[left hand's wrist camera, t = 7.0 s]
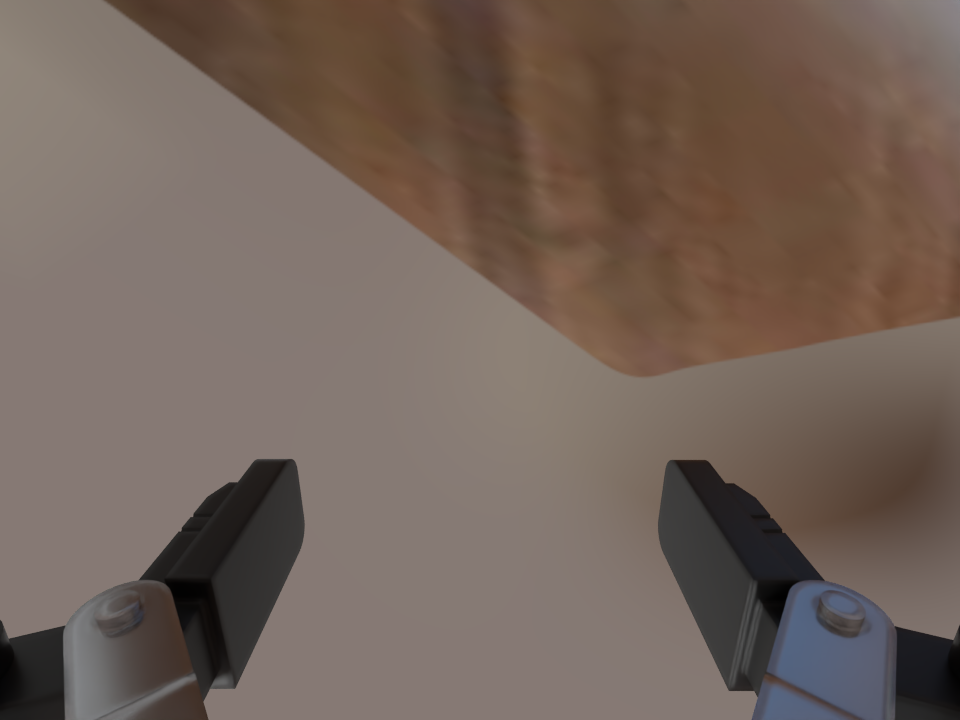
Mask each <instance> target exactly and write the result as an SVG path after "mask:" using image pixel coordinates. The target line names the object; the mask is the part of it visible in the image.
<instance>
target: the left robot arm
mask: <svg viewBox="0 0 960 720" xmlns="http://www.w3.org/2000/svg"><path fill="white" fill-rule="evenodd" d="M658 532H659V540H660V544H661V548H662V551H663V553H664V555H665V557H666V559H667V561H668V563H669V566H670V568H671V570H672V572H673V574H674V576H675V578H676V580H677V583H678V585H679V587H680V589H681V591H682V593H683V595H684V597H685V599H686V602H687V604H688V606H689V608H690V610H691V612H692V614H693V616H694V618H695V620H696V623H697V625H698V627H699V629H700V631H701V633H702V635H703V637H704V639H705V642H706V644H707V646H708V648H709V650H710V652H711V654H712V656H713V658H714V660H715V663H716V665H717V667H718V669H719V671H720V673H721V675H722V677H723V679H724V682H725V684H726V686H727V688H728V690H729V691H755V693H756V695H757V697H758V699H757V703H756V706H755V710H754V713H753V717H752V720H960V626H959V628H958V631H957V633H956V636H955V638H954V640H950V639H946V638H942V637H937V636H933V635H929V634H925V633H920V632H916V631H911V630H908V629H903V628H899V627H896V626H894V624H893V623H892V621H891V619H890V618H889V617H888V616H887V614H886V613H885V612H884V611H883V610H882V609H881V608H880V607H879V606H878V605H876V604H875V603H874V602H872V601H871V600H870V599H868V598H866V597H865V596H863V595H861V594H859V593H858V592H856V591H854V590H852V589H849V588H847V587H845V586H842V585H839V584H836V583H832V582H827V581H825V580H824V579H823V578H822V577H821V576H820V574H819V573H818V572H817V571H816V570H815V568H814V567H813V566H812V565H811V564H810V562H809V561H808V560H807V559H806V558H805V556H804V555H803V554H802V553H801V552H800V550H799V549H798V548H797V547H796V546H795V544H794V543H793V542H792V541H791V540H790V538H789V537H788V536H787V535H786V533H782V529H781V528H780V526H779V525H778V524H777V523H776V521H775V520H774V519H773V518H770V514H769V513H768V512H767V511H766V509H765V508H764V507H763V506H762V505H761V504H760V502H759V501H758V500H757V499H756V498H755V497H753V496H752V495H751V494H749V493H748V492H746V491H745V490H743V489H742V488H740V487H739V486H737V485H735V484H732V483H729V484H728V483H725V482H724V481H723V480H722V478H721V477H720V476H719V475H718V473H717V472H716V471H715V469H714V468H713V467H712V465H711V464H710V463H709V462H708V461H706V460H670V461H669V462H668V463H667V466H666V470H665V477H664V484H663V491H662V498H661V505H660V513H659V520H658ZM303 537H304V514H303V507H302V500H301V492H300V485H299V477H298V470H297V466H296V463H295V461H294V460H293V459H257V460H255V461H254V462H253V463H252V465H251V466H250V467H249V469H248V470H247V471H246V472H245V474H244V475H243V476H242V478H241V479H240V480H239V482H236V483H234V482H233V483H232V482H231V483H228V484H226V485H225V486H223V487H222V488H220V489H219V490H217V491H216V492H214V493H213V494H211V495H210V496H208V497H207V498H206V499H205V500H204V502H203V503H202V504H201V505H200V507H199V508H198V509H197V510H196V511H195V513H194V515H193V517H191V518H190V519H189V520H188V521H187V522H186V524H185V525H184V526H183V527H182V531H181V532H178V533H177V534H176V536H175V537H174V538H173V539H172V540H171V542H170V543H169V544H168V545H167V547H166V548H165V549H164V550H163V551H162V553H161V554H160V555H159V556H158V557H157V559H156V560H155V561H154V562H153V563H152V565H151V566H150V567H149V568H148V570H147V571H146V572H145V573H144V574H143V576H142V577H141V578H140V579H139V580H138V581H133V582H129V583H124V584H121V585H118V586H115V587H113V588H111V589H108V590H106V591H104V592H102V593H100V594H98V595H97V596H95V597H94V598H92V599H90V600H89V601H88V602H86V603H85V604H84V605H83V606H81V607H80V608H79V609H78V610H77V611H76V612H75V613H74V614H73V616H72V617H71V618H70V619H69V621H68V623H67V624H66V625H65V626H62V627H57V628H53V629H49V630H44V631H40V632H36V633H32V634H27V635H23V636H19V637H15V638H10V639H9V638H8V636H7V633H6V631H5V629H4V626H3V624H2V621H1V620H0V720H208V717H207V713H206V710H205V706H204V703H203V701H204V699H205V697H206V695H207V693H208V692H209V690H210V689H235V688H236V686H237V684H238V681H239V679H240V677H241V675H242V673H243V671H244V669H245V667H246V664H247V662H248V660H249V658H250V656H251V654H252V652H253V649H254V647H255V645H256V643H257V641H258V639H259V637H260V634H261V632H262V630H263V628H264V626H265V624H266V622H267V620H268V618H269V615H270V613H271V611H272V609H273V607H274V605H275V603H276V600H277V598H278V596H279V594H280V592H281V590H282V588H283V586H284V583H285V581H286V579H287V577H288V575H289V573H290V571H291V568H292V566H293V564H294V562H295V560H296V558H297V556H298V554H299V551H300V549H301V546H302V542H303Z"/></svg>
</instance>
